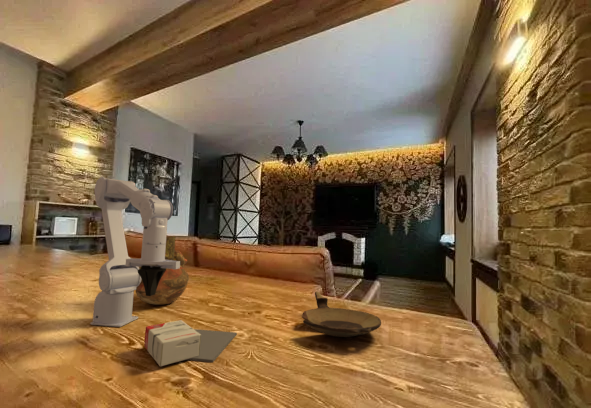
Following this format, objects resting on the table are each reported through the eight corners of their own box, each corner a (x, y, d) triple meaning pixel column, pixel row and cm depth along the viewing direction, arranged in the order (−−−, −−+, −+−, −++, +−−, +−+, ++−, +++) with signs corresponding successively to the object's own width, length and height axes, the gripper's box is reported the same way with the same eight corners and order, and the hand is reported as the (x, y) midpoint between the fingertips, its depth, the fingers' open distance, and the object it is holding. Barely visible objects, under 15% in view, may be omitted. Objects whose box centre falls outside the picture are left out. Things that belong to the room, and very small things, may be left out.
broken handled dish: (299, 349, 70) (300, 317, 70) (302, 312, 99) (303, 290, 100) (392, 355, 68) (392, 322, 69) (367, 315, 98) (367, 293, 99)
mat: (152, 356, 63) (152, 354, 63) (188, 330, 79) (188, 328, 79) (212, 362, 61) (213, 359, 62) (236, 334, 77) (236, 332, 77)
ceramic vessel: (201, 295, 117) (205, 234, 119) (164, 315, 91) (169, 236, 93) (163, 292, 119) (167, 233, 121) (116, 310, 94) (122, 234, 96)
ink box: (143, 348, 66) (159, 367, 57) (145, 326, 66) (161, 342, 58) (180, 339, 72) (200, 356, 63) (182, 319, 72) (202, 333, 63)
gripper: (187, 243, 79) (183, 293, 78) (139, 241, 81) (135, 289, 80) (173, 245, 73) (169, 299, 71) (121, 243, 74) (117, 295, 73)
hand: (150, 295), depth 75 cm, fingers closed
